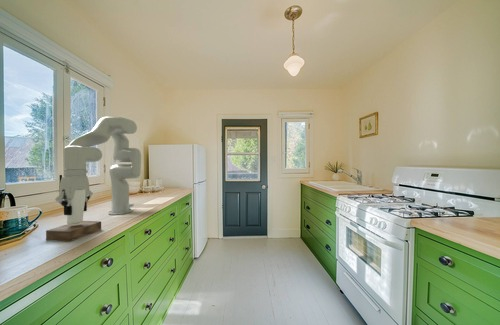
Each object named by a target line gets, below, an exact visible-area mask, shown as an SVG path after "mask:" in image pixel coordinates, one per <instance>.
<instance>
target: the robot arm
mask: <svg viewBox="0 0 500 325" xmlns="http://www.w3.org/2000/svg"><path fill="white" fill-rule="evenodd" d="M137 130H138V127H137V123H136V122H135V121H134V120H131V119H129V118H126V117H121V116H119V117H118V116H103V117H101V118H100V119H99V120H98V121H97V122H96V124H95V125H94V127H93V128H92V129H91V130H90V131H89V132H86V133H84V134H82V135H80V136H78V137H76V138H74V139H73V140H72V141H71V142H70V143H69V144H68V145H67V146H64V148H63V176H62V177H61V179H60V183H59V189H58V191H59V192H58V195H57V197H56V198H55V201H56V202H58V203H59V204H60V205H61V206H62V207H63V215H64V216H67V215H72V206H70V204H71V199H73V197H74V193H75V190H84V189H85V190H86V197H85V206H84V212H87V210H88V208H87V207H88V206H87V205H88V202H89V200H90V199H91V197H92V196H93V192H92V191H91V190H90V180H89V178H88V175H87V173H88V170H87V163H97V162H99V161H101V159H102V157H103V153H102V151H101V150H100V148H98V147H95V146H98V145H102V144H104V143H107V142H108V141H109V140H110V138H112V139H113V151H112V152H113V153H112V154H113V155H112V158H113V160H114V162H116V163H118V164H116V163H115V164H113V165H111V166H110V167H109V176H110V183H111V184H110V185H111V187H110V188H111V190H110V192H111V193H110V194H111V210H110V211H108V215H112V216H116V215H124V214H128V213H129V214H130V213H131V212H132V210H133V209H132V208H133V207H134V206H135V204H134V203H131V204H130V184H129V182H128V181H127V180H126V179H128V180H129V179H130V180H132V179H134V180H135V179H138V178H140V176H141V173H142V154H141V150H140V149H139V148H136V147H130V140H129V138H128V137H127V136H126V135H125V134H128V135H130V134H133V135H134V134H135V133H136V132H137ZM119 163H120V164H119ZM124 163H125V164H124ZM127 163H128V164H127ZM66 197H67V199H66ZM66 200H68V202H66Z"/></svg>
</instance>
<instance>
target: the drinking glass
mask: <svg viewBox="0 0 500 325" xmlns="http://www.w3.org/2000/svg"><path fill="white" fill-rule="evenodd" d="M85 197H86V190H85V189H84V190H75V193H74V197H73V199H71V204H70V206H72V215H66V225H67V224H78V223H81V222H82V221H84V213H85V211H84V206H85ZM66 199H67V197H66ZM66 202H68V200H66Z"/></svg>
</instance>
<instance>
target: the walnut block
mask: <svg viewBox="0 0 500 325" xmlns="http://www.w3.org/2000/svg"><path fill="white" fill-rule="evenodd" d="M101 230H102V221H98V220H96V221H95V220H83V221H82V222H81V223H78V224H67V223H66V224H64V225H59V226H57V227H53V228H51V229H47V230H45V240H46V241H59V242H73V241H75V240H78V239H81V238H83V237H86V236H88V235H91V234H94V233H96V232H98V231H101Z"/></svg>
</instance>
